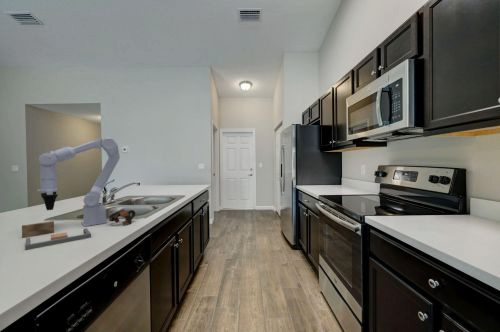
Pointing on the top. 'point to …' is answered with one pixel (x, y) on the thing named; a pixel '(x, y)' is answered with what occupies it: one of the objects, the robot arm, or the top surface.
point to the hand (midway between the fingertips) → (49, 208)
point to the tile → (59, 236)
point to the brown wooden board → (37, 229)
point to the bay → (57, 240)
